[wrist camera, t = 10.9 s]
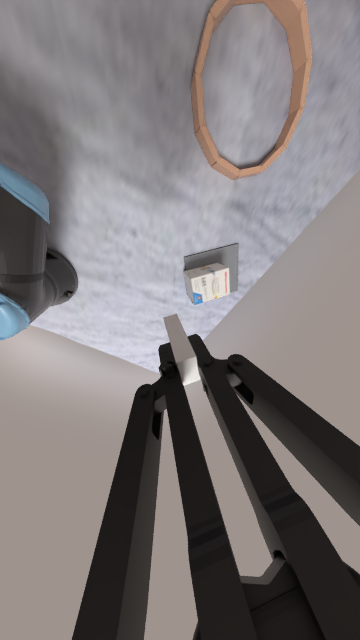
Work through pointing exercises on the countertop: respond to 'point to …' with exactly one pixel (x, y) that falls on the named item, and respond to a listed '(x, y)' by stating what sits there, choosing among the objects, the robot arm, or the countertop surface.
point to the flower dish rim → (293, 17)
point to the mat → (221, 256)
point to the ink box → (207, 282)
